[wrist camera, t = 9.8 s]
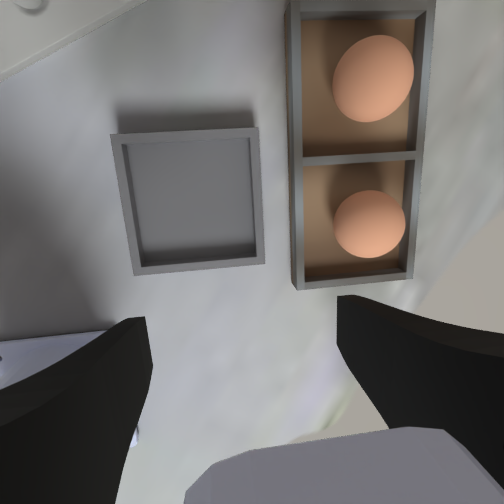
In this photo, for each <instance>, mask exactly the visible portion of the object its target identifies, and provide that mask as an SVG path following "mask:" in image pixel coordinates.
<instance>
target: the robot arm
mask: <svg viewBox="0 0 504 504" xmlns="http://www.w3.org/2000/svg"><path fill="white" fill-rule="evenodd" d="M337 346H338V348H339V350H340V352H341V354H342V356H343V358H344V360H345V362H346V364H347V366H348V368H349V369H350V371H351V372H352V374H353V375H354V377H355V378H356V380H357V381H358V383H359V384H360V385H361V387H362V388H363V390H364V391H365V393H366V394H367V396H368V397H369V399H370V400H371V401H372V403H373V404H374V406H375V407H376V409H377V410H378V412H379V413H380V415H381V416H382V418H383V419H384V421H385V422H386V424H387V425H388V427H389V429H387V430H380V431H374V432H368V433H360V434H354V435H347V436H341V437H335V438H327V439H321V440H315V441H307V442H301V443H294V444H288V445H281V446H274V447H268V448H261V449H254V450H249V451H246V452H243V453H241V454H238V455H235V456H233V457H230V458H227V459H224V460H222V461H219V462H216V463H214V464H213V465H211V466H210V467H209V468H208V469H207V470H206V471H205V472H204V473H203V474H202V475H201V476H200V477H199V478H198V480H197V481H196V482H195V483H194V484H193V485H192V486H191V487H190V488H189V489H188V490H187V491H186V493H185V499H184V504H504V334H502V333H496V332H489V331H483V330H477V329H471V328H466V327H461V326H457V325H453V324H448V323H444V322H440V321H436V320H432V319H429V318H425V317H422V316H419V315H415V314H412V313H409V312H406V311H403V310H400V309H397V308H394V307H391V306H388V305H385V304H382V303H380V302H377V301H374V300H371V299H368V298H365V297H361V296H357V295H345V296H337ZM0 356H1V357H2V359H0V504H115V501H116V497H117V493H118V488H119V484H120V480H121V475H122V471H123V467H124V463H125V460H126V457H127V453H128V450H129V448H131V447H134V446H136V445H137V443H138V433H137V424H138V421H139V418H140V415H141V412H142V409H143V406H144V403H145V400H146V397H147V394H148V390H149V385H150V380H151V375H152V369H153V362H152V356H151V350H150V344H149V338H148V332H147V326H146V320H145V316H144V317H134V318H127V319H125V320H123V321H121V322H119V323H118V324H116V325H115V326H113V327H112V328H110V329H109V330H105V331H95V332H86V333H77V334H67V335H58V336H49V337H40V338H30V339H21V340H12V341H2V342H0Z"/></svg>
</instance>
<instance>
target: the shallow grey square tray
mask: <svg viewBox="0 0 504 504" xmlns="http://www.w3.org/2000/svg"><path fill="white" fill-rule="evenodd" d="M110 138H111V144H112V150H113V156H114V162H115V168H116V174H117V179H118V185H119V191H120V197H121V203H122V209H123V215H124V221H125V227H126V232H127V238H128V244H129V250H130V256H131V262H132V268H133V274H134V276H139V275H150V274H161V273H172V272H183V271H193V270H204V269H215V268H226V267H237V266H248V265H259V264H265V248H264V228H263V208H262V188H261V168H260V148H259V128H258V127H252V128H231V129H211V130H190V131H169V132H148V133H127V134H110Z"/></svg>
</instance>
